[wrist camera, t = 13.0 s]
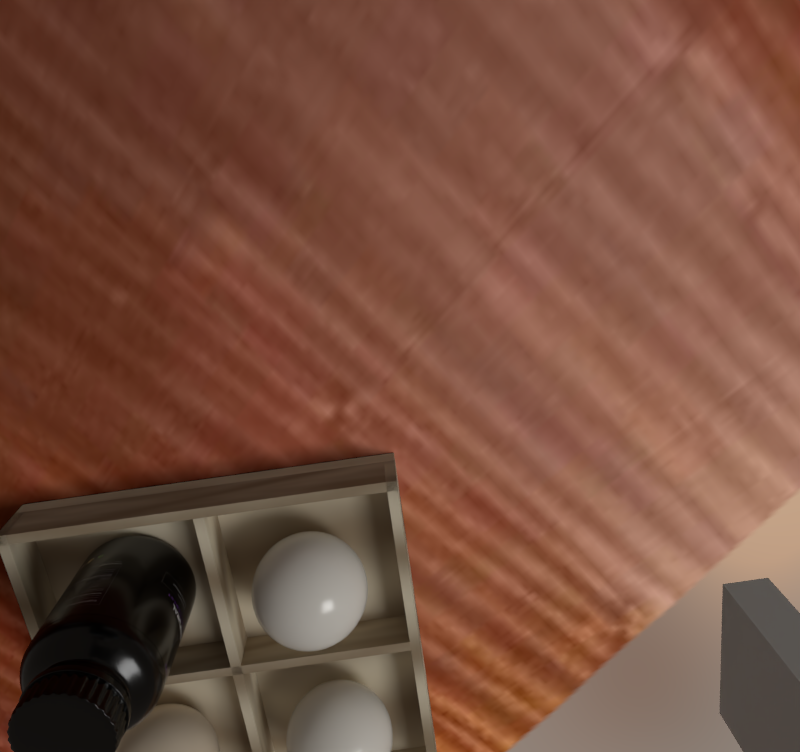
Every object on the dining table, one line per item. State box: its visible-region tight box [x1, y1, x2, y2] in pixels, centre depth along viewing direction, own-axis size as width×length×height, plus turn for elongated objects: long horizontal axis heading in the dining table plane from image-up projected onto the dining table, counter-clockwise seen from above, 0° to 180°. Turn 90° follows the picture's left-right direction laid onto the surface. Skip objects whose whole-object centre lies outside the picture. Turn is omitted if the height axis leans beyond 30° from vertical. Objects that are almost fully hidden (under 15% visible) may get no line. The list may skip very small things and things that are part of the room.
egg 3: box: [286, 680, 393, 752], centre depth 44 cm, size 6×6×6 cm
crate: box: [0, 453, 437, 752], centre depth 44 cm, size 22×22×4 cm
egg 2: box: [252, 531, 368, 652], centre depth 40 cm, size 6×6×6 cm
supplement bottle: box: [7, 536, 196, 752], centre depth 38 cm, size 7×7×12 cm
